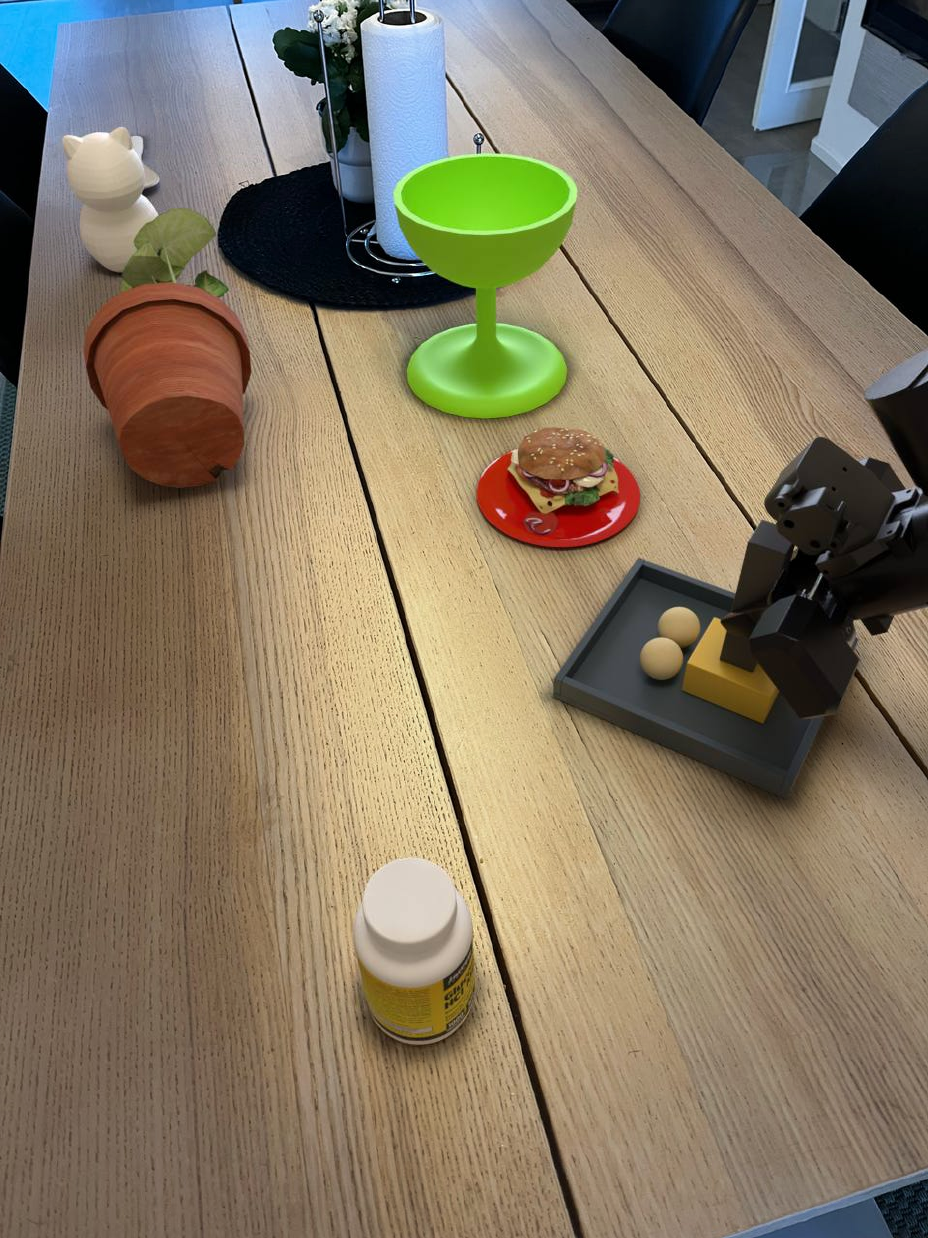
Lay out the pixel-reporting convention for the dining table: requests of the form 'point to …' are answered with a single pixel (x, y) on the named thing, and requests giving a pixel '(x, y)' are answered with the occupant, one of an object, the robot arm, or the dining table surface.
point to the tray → (678, 685)
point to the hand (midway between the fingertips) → (732, 612)
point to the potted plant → (171, 359)
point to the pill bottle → (415, 951)
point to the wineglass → (486, 276)
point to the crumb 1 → (679, 626)
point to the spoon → (150, 176)
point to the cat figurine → (108, 194)
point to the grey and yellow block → (725, 658)
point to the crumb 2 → (661, 658)
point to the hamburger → (558, 490)
